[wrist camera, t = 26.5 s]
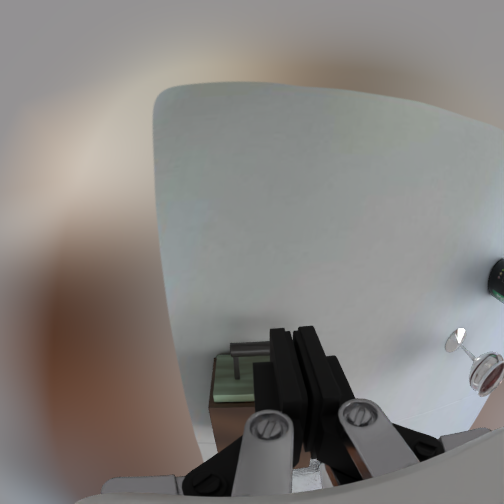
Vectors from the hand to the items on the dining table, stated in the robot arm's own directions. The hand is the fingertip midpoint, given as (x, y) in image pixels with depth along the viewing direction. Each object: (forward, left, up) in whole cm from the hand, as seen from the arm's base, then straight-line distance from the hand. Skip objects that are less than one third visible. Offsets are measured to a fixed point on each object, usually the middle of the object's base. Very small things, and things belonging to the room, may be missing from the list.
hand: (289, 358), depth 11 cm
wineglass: (+9, +39, -23) cm, 46 cm away
